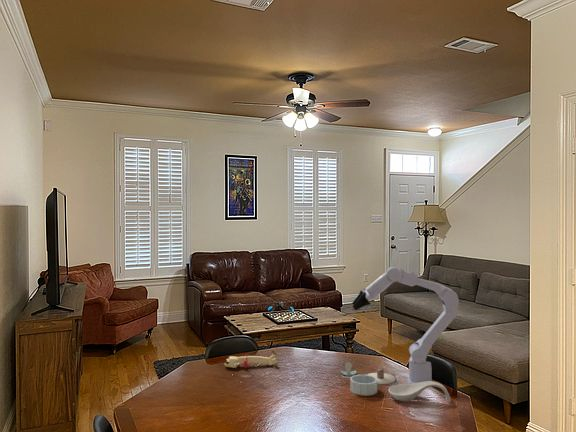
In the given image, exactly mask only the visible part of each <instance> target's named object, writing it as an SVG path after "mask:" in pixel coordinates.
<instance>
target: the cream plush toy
mask: <svg viewBox="0 0 576 432" xmlns="http://www.w3.org/2000/svg"><path fill="white" fill-rule="evenodd" d="M271 354H272V355H270V356H269V357H268V356H263V355H262V356H261V355H259V356H258V355H248V354H247V353H245V354H244V356H241V355H240V356H237V355H236V356H233V355H231V356H228V358H226V359H225V362H224V366H225V367H226V368H232V369H234V368H235V369H237V367H238V365H239V366H240V365H243V367H245V369H246V370H247V369H248V364H260V365H266V366H272V365H274V367H278V361H277V359H276V358H275V357H276V356H277V352H276V350H275V349H271Z"/></svg>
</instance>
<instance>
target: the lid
mask: <svg viewBox="0 0 576 432" xmlns="http://www.w3.org/2000/svg"><path fill="white" fill-rule="evenodd" d="M369 373H370V374H367V375H370V376H373V377H375V378H377V384H391V383H393V382H395V380H396V379H397V378H396V379H395V377H394V376H393V375H390V374H391V373H386V372H385V370H384V368H377V369H376V372H369Z"/></svg>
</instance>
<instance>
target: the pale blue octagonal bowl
mask: <svg viewBox="0 0 576 432" xmlns="http://www.w3.org/2000/svg"><path fill="white" fill-rule="evenodd" d="M349 377H350V378H349V389H350V390H349V391H350V392H351V393H352V394H354V395H359V396H373V395H375V394H377V393H378V385H377V378H375V377H373V376H370V375H364V374H354V376H353V375H352V376H349Z"/></svg>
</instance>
